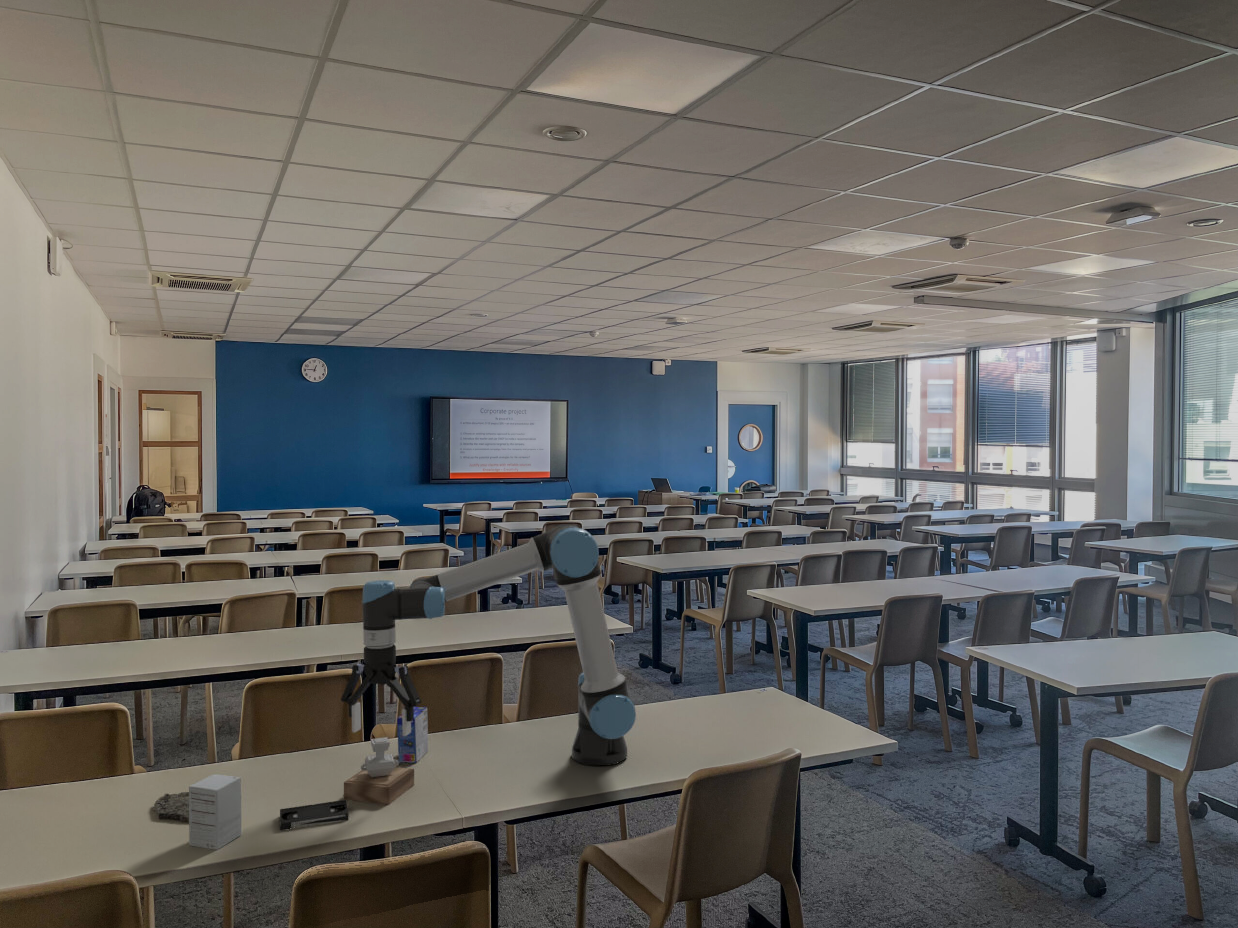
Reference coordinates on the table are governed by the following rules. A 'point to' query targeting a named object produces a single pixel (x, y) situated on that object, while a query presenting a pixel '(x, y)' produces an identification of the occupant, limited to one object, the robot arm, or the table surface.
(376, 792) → the plinth
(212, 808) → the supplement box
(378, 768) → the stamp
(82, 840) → the table surface
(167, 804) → the stone slab
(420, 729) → the ink cartridge box
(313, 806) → the vhs tape
